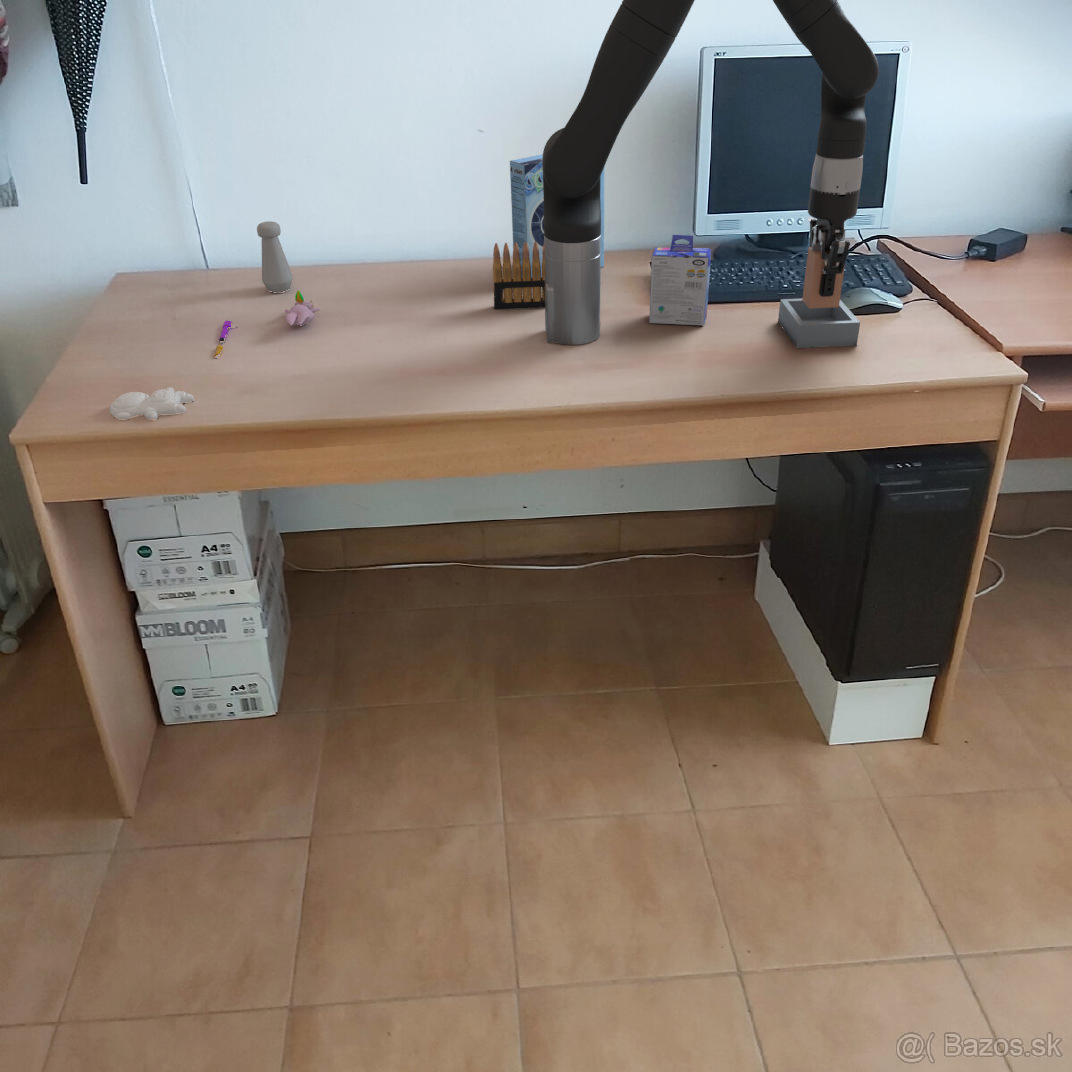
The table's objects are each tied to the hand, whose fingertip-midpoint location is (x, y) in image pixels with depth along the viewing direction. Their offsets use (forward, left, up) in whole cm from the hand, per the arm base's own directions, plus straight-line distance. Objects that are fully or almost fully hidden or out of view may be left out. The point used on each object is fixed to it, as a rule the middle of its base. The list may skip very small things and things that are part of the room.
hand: (821, 290), depth 166 cm
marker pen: (-101, +9, -8) cm, 102 cm away
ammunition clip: (-49, +19, -8) cm, 53 cm away
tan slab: (0, 0, -2) cm, 2 cm away
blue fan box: (-41, +36, -8) cm, 55 cm away
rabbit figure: (-89, +15, -8) cm, 91 cm away
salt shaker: (-96, +34, -8) cm, 102 cm away
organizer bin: (0, 0, -7) cm, 7 cm away
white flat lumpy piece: (-107, -17, -8) cm, 109 cm away
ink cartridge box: (-22, +9, -8) cm, 25 cm away
